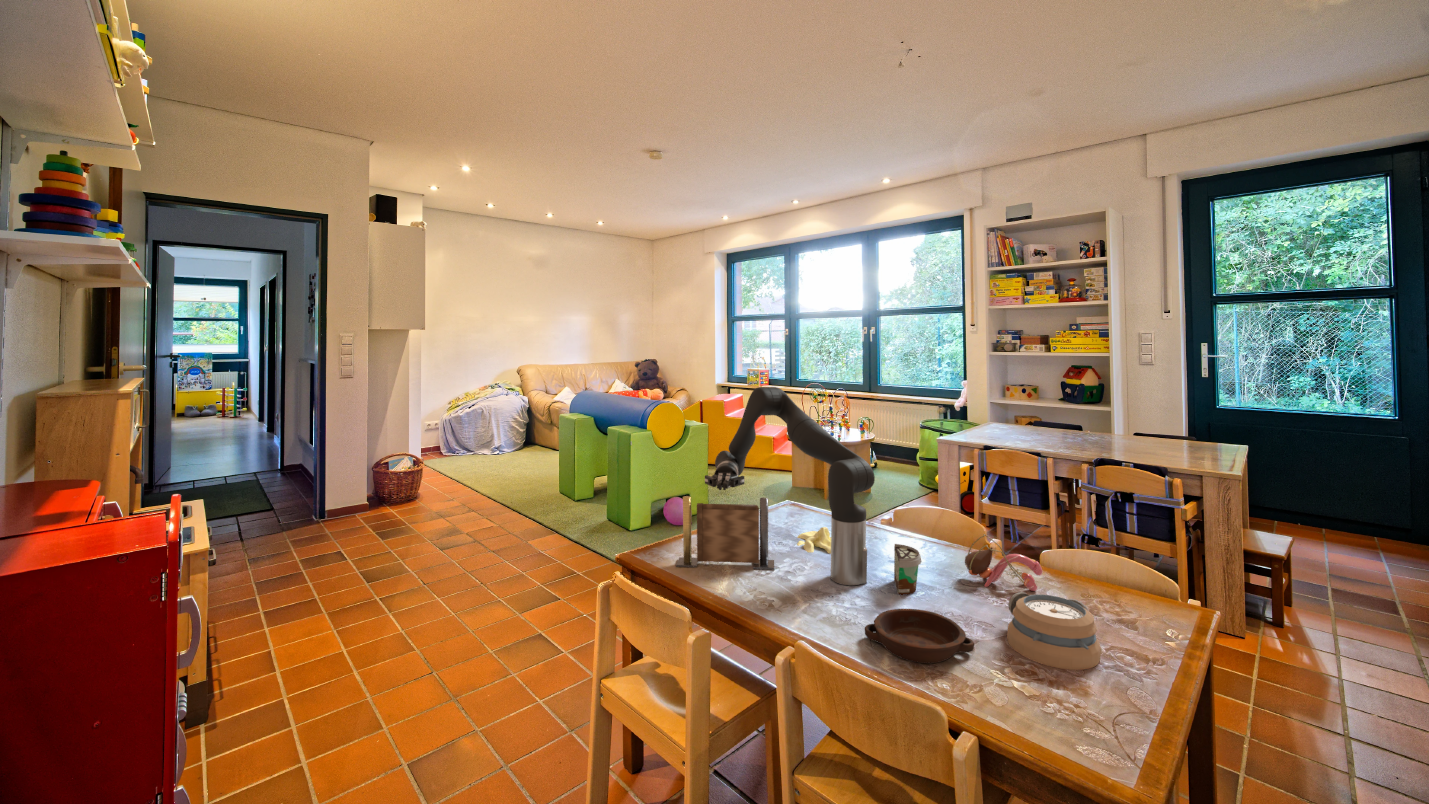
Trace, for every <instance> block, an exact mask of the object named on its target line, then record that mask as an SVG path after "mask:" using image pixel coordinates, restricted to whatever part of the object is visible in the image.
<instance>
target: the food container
mask: <svg viewBox="0 0 1429 804" xmlns="http://www.w3.org/2000/svg"><path fill="white" fill-rule="evenodd" d="M893 551H894V562H893V563H894V569H893V570H894V572H893V582H894V585H895V590H896V593H897V596H910V595H913V594H915V593H916V591H917V582H918V574H919V566H920V565H921V564H922V557H921V553H920V552H919V550H918V549H917V548H915V547H913V546H910V545H906V544H899V543H894V550H893Z"/></svg>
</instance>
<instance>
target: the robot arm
mask: <svg viewBox="0 0 1429 804" xmlns="http://www.w3.org/2000/svg"><path fill="white" fill-rule="evenodd" d="M761 416H776V417H778V418H780V419H781V420H782V421H783V422H785V424H786V430H787V436H788V439H789V440H790V441H791V442H792V443H793V444H794V445H795V447H797V448H798V449H799V450H800V451H801V452H802V453H804V454H806V455H808V456H810V457H811V458H814V459H817V460H818V461H819V460H820V461H821V462H824V463H826V464H829V465H830V467H829V469H828V476H827V480H828V481H827V488H828V504H829V508H830V513H831V514H830V515H831V518H830V519H831V521H830V522H831V523H830V524H831V525H830V527H831V528H830V529H831V530H830V537H831V554H830V580H831V581H832V582H835V583H836V584H840V585H843V586H859V585H862V584H867V582H868V581H867V580H868V579H867V577H868V575H867V573H868V548H867V545H866V541H867V510H866V508H865V507H864V506H862V505H859V504H858V503H857V504H856V503H855V496H854V494H857V493H862V492H863V493H864V492H867V491H868V490H870V489H871V488H872V487H873V486H874V484H875V481H876V480H875V479H876V477H875V473H874V470H873V468H872V466H871V464H869V463H868V461H866V460H865V458H862V456H860V455H858V454H857V453H855V452H854V451H852V450H851V449H849V448H847V447H846V446H845V445H843V444H842V443H841V442H840V441H838V439H836V437H834V436H833V435H832V434H830V433H829V432H827V430H825V429H824V428H823V426H821V425H820V424H819V423H818V422H816V421H815V420H814V419H813V418H812V417H810V416H809V415H808V413H805V412H804V410H802V409H801V408H800V407H799V406H798V405H797V404H796V403H795V401H794V400H792V399H791V398H790V396H789V395H788V394H787V393H786V392H785V391H784V390H783V389H782V388H779V387H778V386H777V387H776V386H760V387H756V388H754V389H753V390H752V392H751V393H750V395H749V398H748V400H747V403H746V406H745V409H744V412H743V415H742V418H741V421H740V424H739V426H738V428H737V431H736V433H735V434H734V436H733V438H732V439H731V441H730V443H729V444H728V450H722V451H720V452H719V453H718V454H717V455H716V457H715V460H714V467H715V468H716V469H715V471H714V472H713V474H712V475H708V474H706V475H704V484H705V485H708V486H709V487H712V488H716V489H718V490H719V491H722V490H723V491H726V490H728V489H729V488H736V487H740V486H743V485H745V476H744V475H742V474H743V471H744V469H745V464H746V460H747V459H746V458H747V456H748V453H749V452H750V450H751V449H752V447H753V445H754V444H755V441H756V436H757V435H756V434H757V433H756V428H755V426H756V422H757V420H758V419H759V418H760V417H761ZM740 475H741V476H740Z"/></svg>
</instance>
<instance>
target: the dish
mask: <svg viewBox="0 0 1429 804" xmlns="http://www.w3.org/2000/svg"><path fill="white" fill-rule="evenodd" d="M864 635H865V636H866V638H868V639H869V640H871V641H874V642H877V643H878V644H881V645H883V647H884V648H885V649H886V650H887V651H889V652H890V653H891V654H893V655H895V656H896V657H898V658H901V659H903V660H906V661H910V662H913V663H919V664H935V663H940V662H944V661H947V660H948V659H950V658H951V657H953V656H954V655H955V654H957V653H970V652H973V650H974V649H975V648H974V647H975V642H974V641H973V639H972V638H969V637H967V636H966V632H965V630H964V629H963V628H962V627H961V625H959V624H958V623H957V622H956V621H954V620H953V619H951V618H948V617H946V616H944V615H942V614H940V613H937V612H934V611H930V610H924V609H920V608H919V609H917V608H893V609H887V610H884V611H882V612H881V613H879V614H878V615H876V617H875V618H874V620H873V623H870V624H867V625H865V627H864Z"/></svg>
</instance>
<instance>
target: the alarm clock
mask: <svg viewBox="0 0 1429 804" xmlns="http://www.w3.org/2000/svg"><path fill="white" fill-rule="evenodd" d="M1007 606H1008V610H1009V612H1010V614H1011V615H1012V616H1013V618H1012V619H1011V621H1010V622H1009V623H1008V625H1007V631H1006V632H1007V633H1006V634H1007V635H1006V641H1007V642H1008V645H1009V646H1010V648H1012V649H1013V650H1014V652H1016V653H1018V654H1019V655H1021V656H1023V657H1024V658H1027V659H1028V660H1031V661H1033V662H1035V663H1039V664H1040V665H1044V666H1047V667H1052V668H1055V669H1061V670H1070V671H1080V670H1081V671H1082V670H1083V671H1084V670H1088V669H1093V668H1094V667H1096V666H1097V665H1099V663H1100V662H1101V655H1102V654H1101V653H1102V651H1101V650H1102V649H1101V643H1100V641H1099V639H1098V638H1097V636H1096V633H1097V632H1098V629H1097V625H1096V623H1095V617H1094V615H1093V613H1091V612H1090V610H1089V608H1088V607H1087V606H1086V605H1085V604H1084V603H1083V602H1082V601H1079V600H1078V599H1074V598H1068V599H1067V598H1064V597H1060V596H1057V595H1056V596H1055V595H1049V594H1028V593H1026V592H1021V591H1020V592H1019V591H1018V592H1016V593H1014V594H1013V595H1012V596H1011V598H1010V599H1009V601H1008V605H1007Z"/></svg>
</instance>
